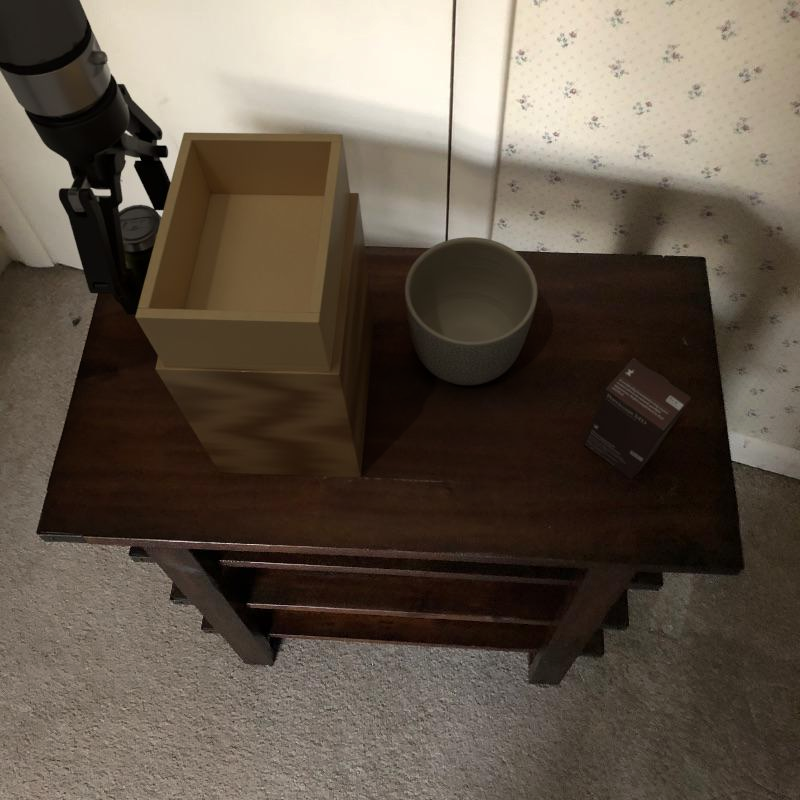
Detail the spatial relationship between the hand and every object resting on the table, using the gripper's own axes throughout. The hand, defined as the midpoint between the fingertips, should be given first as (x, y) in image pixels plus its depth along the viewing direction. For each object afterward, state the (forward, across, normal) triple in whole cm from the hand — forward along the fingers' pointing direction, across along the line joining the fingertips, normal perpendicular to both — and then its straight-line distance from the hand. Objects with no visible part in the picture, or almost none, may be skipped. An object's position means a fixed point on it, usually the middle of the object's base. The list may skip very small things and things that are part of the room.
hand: (155, 257), depth 80 cm
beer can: (+7, 0, 0) cm, 7 cm away
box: (+7, -17, -48) cm, 51 cm away
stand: (+7, -12, -16) cm, 21 cm away
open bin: (-13, -12, -16) cm, 24 cm away
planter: (+7, -6, -33) cm, 34 cm away
